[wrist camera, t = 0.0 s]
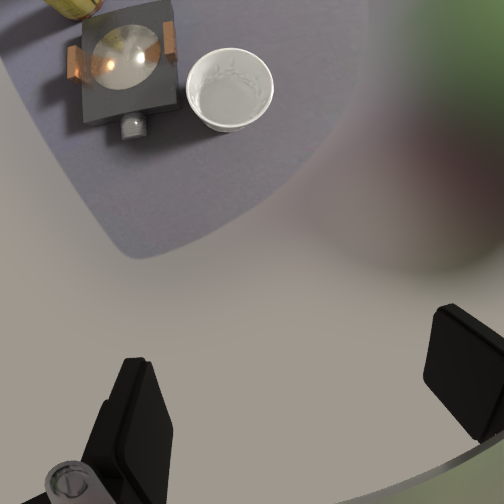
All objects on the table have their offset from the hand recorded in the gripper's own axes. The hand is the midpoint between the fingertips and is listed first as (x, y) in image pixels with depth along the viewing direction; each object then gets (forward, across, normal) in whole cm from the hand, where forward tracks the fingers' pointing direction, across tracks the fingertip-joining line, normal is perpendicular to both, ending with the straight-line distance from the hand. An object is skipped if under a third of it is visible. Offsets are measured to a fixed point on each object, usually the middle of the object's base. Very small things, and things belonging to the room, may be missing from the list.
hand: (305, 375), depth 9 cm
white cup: (+32, 0, -14) cm, 34 cm away
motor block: (+31, +11, -20) cm, 38 cm away
